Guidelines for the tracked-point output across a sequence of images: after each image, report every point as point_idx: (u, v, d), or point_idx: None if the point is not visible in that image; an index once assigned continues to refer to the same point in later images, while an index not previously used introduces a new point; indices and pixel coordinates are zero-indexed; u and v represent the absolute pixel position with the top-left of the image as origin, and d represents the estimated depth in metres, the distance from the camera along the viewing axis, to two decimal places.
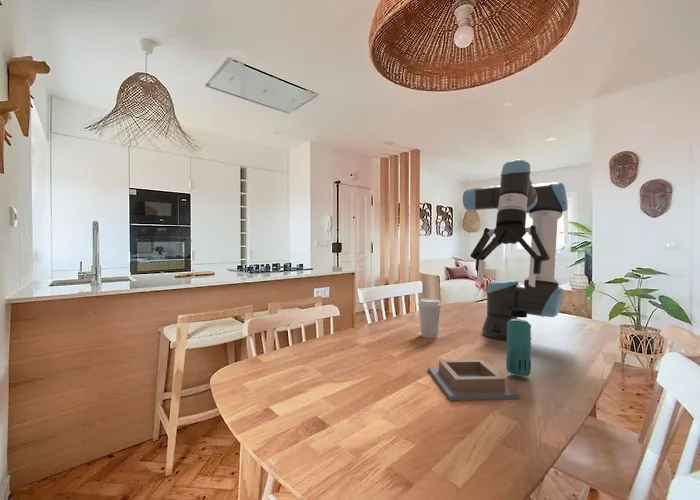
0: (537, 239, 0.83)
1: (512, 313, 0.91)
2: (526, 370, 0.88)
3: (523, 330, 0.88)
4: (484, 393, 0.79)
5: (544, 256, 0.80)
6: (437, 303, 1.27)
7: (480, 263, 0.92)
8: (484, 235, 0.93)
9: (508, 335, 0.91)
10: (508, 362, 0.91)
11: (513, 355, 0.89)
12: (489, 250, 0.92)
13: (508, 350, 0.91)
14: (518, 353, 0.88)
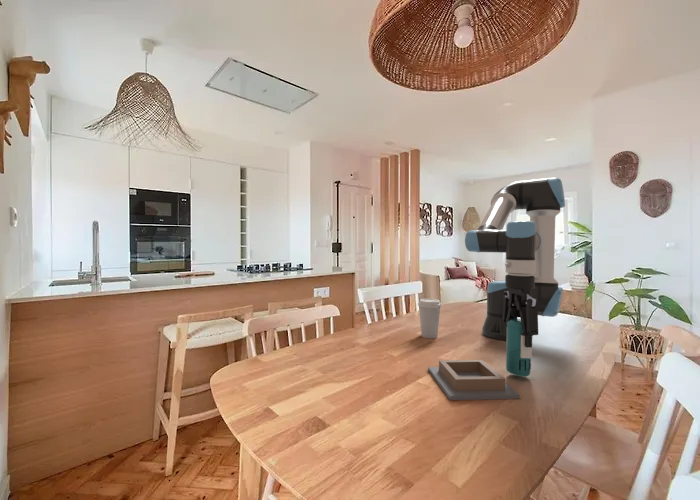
0: (528, 314, 0.85)
1: (512, 313, 0.91)
2: (526, 370, 0.88)
3: None
4: (484, 393, 0.79)
5: (528, 333, 0.85)
6: (437, 303, 1.27)
7: None
8: (504, 299, 0.96)
9: (508, 335, 0.91)
10: (508, 362, 0.91)
11: (513, 355, 0.89)
12: None
13: (508, 350, 0.91)
14: (518, 353, 0.88)
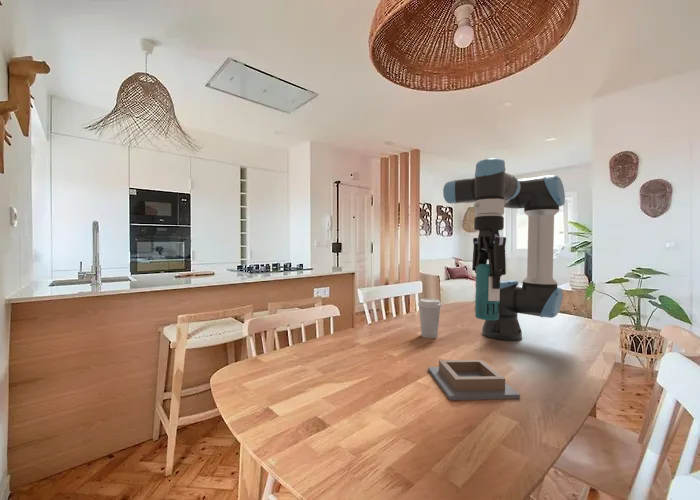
0: (495, 253, 0.81)
1: (481, 256, 0.87)
2: (494, 314, 0.85)
3: None
4: (484, 393, 0.79)
5: (495, 273, 0.81)
6: (437, 303, 1.27)
7: None
8: (474, 246, 0.93)
9: (477, 279, 0.87)
10: (476, 307, 0.87)
11: (481, 299, 0.86)
12: (481, 260, 0.90)
13: (476, 295, 0.87)
14: (486, 296, 0.85)
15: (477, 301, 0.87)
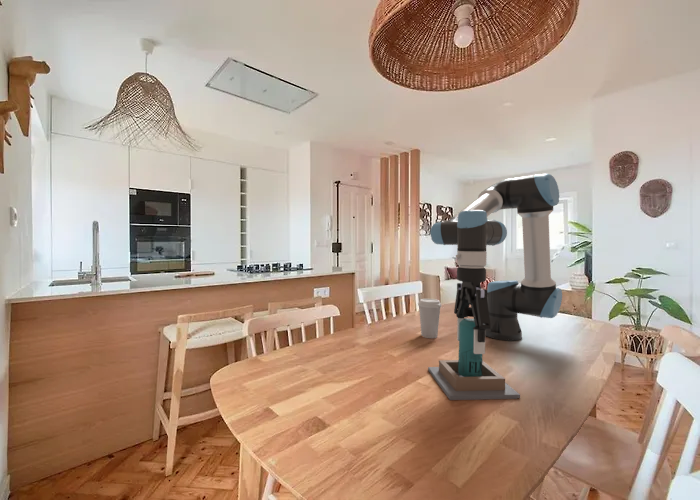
0: (478, 306, 0.79)
1: (464, 312, 0.87)
2: (476, 372, 0.84)
3: (473, 330, 0.84)
4: (484, 393, 0.79)
5: (479, 327, 0.78)
6: (437, 303, 1.27)
7: (458, 322, 0.92)
8: (457, 291, 0.93)
9: (460, 335, 0.87)
10: (459, 364, 0.87)
11: (463, 356, 0.85)
12: (463, 307, 0.91)
13: (459, 351, 0.87)
14: (469, 354, 0.84)
15: (460, 357, 0.86)
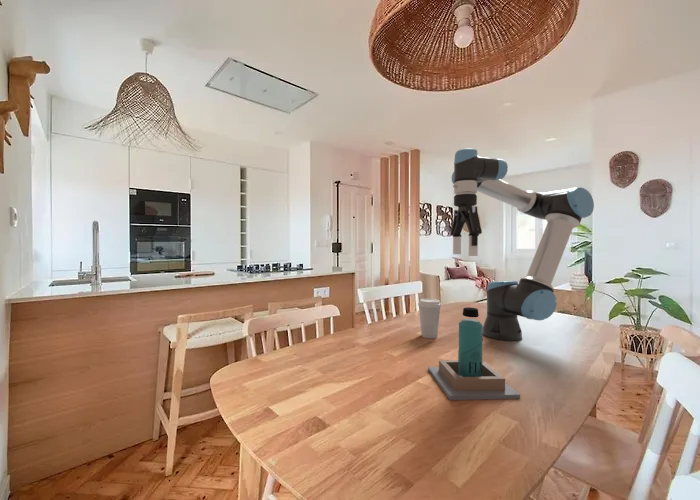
0: (471, 218, 1.02)
1: (463, 313, 0.86)
2: (476, 373, 0.84)
3: (473, 331, 0.84)
4: (484, 393, 0.79)
5: (473, 232, 1.00)
6: (437, 303, 1.27)
7: (453, 239, 1.17)
8: (454, 216, 1.16)
9: (459, 336, 0.87)
10: (459, 364, 0.87)
11: (463, 356, 0.85)
12: (458, 228, 1.15)
13: (459, 351, 0.87)
14: (468, 355, 0.84)
15: (460, 358, 0.86)
